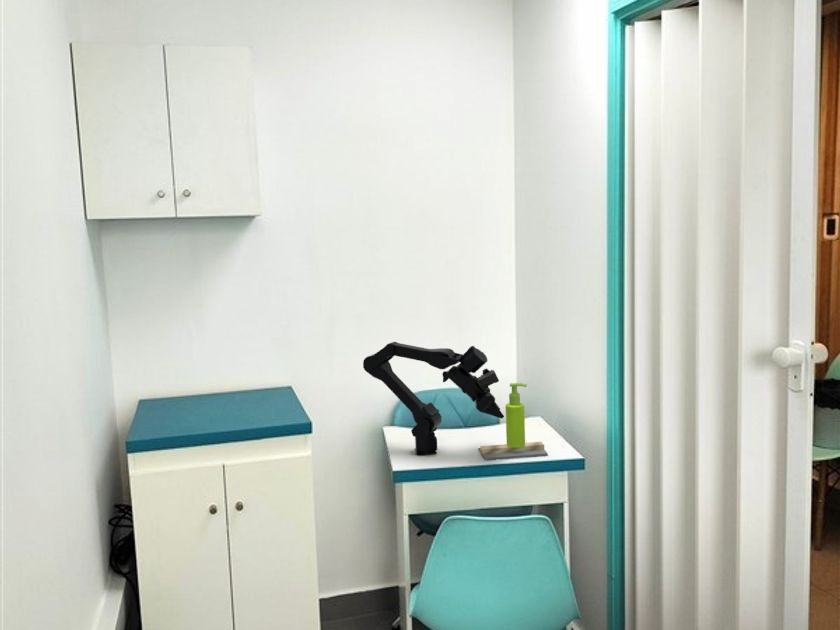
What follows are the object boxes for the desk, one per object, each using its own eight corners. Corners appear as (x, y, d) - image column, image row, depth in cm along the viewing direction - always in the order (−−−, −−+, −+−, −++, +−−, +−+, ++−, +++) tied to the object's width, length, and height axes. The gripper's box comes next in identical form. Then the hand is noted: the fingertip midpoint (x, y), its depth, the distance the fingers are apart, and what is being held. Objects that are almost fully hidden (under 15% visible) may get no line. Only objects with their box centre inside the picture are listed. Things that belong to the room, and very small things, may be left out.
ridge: (482, 454, 239) (482, 449, 238) (480, 451, 242) (480, 446, 242) (544, 449, 241) (544, 444, 240) (541, 446, 244) (541, 441, 244)
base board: (484, 460, 235) (484, 458, 235) (478, 450, 246) (478, 447, 246) (547, 455, 237) (547, 453, 237) (538, 445, 248) (538, 443, 248)
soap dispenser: (528, 447, 238) (526, 385, 235) (506, 447, 239) (504, 385, 237) (529, 442, 243) (527, 381, 241) (507, 442, 245) (505, 381, 242)
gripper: (486, 368, 229) (523, 402, 230) (479, 357, 247) (514, 389, 249) (461, 394, 229) (498, 428, 231) (456, 382, 248) (490, 413, 250)
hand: (501, 413), depth 240 cm, fingers open, 9 cm apart
